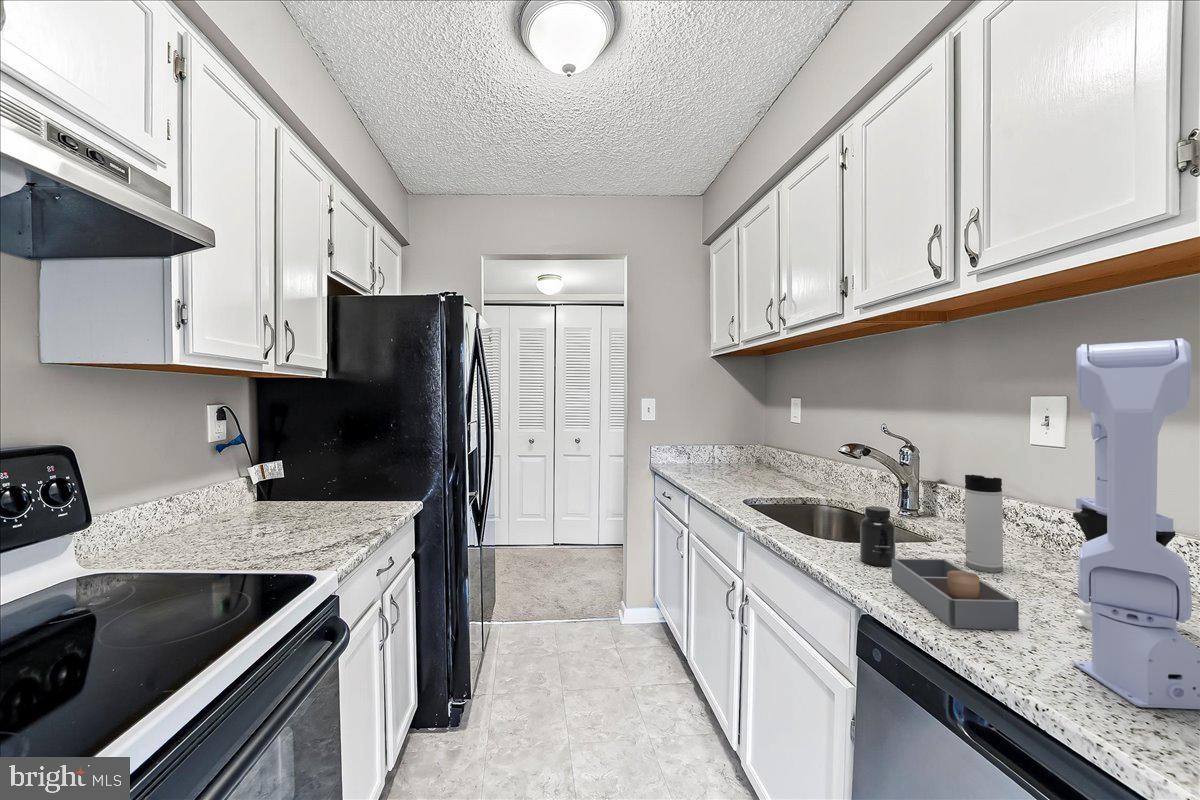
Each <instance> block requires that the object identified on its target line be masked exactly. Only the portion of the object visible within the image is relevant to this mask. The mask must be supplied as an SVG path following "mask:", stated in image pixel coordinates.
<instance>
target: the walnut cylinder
mask: <svg viewBox="0 0 1200 800" xmlns="http://www.w3.org/2000/svg"><path fill="white" fill-rule="evenodd" d="M965 571H966V570H965ZM965 571H949V572H947V584H948V596H949V597H950V598H952V599H971V600H980V586H979V579H980V576H979V575H978V574H976V573H973V572H969V571H966V572H965Z"/></svg>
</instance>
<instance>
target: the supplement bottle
mask: <svg viewBox="0 0 1200 800" xmlns="http://www.w3.org/2000/svg"><path fill="white" fill-rule="evenodd" d="M864 510H865V511H864V515H865V518H863V519H862V520H861V521H860V525H859V527H860V532H859V534H860V535H859V536H860V538H859V541H860V542H859V545H860V546H859V548H860V549H859V551H860V552H859V553H860V557H859V558H860V560H861V561H862V562H863V563H865V564H867V565H870V566H875V567H883V568H888V567H892V559H896V525H895V523H893V522H892V521H891V520H890V519H891V510H890V509H889V507H888V508H887V507H883V506H877V505H869V506H868V505H867V506H866V507H865V509H864Z"/></svg>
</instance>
